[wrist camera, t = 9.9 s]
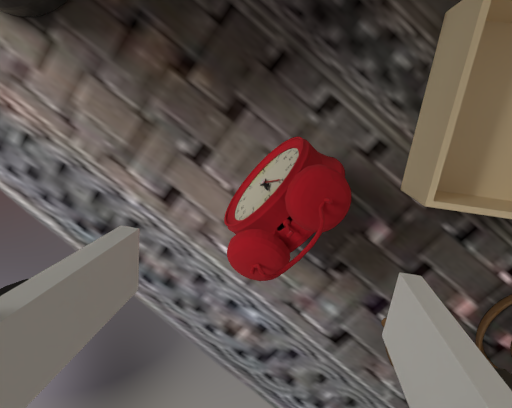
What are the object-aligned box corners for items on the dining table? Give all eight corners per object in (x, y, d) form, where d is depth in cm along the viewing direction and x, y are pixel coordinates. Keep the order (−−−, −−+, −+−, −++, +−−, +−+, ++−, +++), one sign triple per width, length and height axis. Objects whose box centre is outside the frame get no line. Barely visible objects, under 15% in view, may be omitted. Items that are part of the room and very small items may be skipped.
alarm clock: (299, 121, 29) (298, 121, 15) (345, 167, 29) (389, 212, 15) (226, 197, 32) (167, 259, 18) (270, 238, 32) (247, 331, 18)
